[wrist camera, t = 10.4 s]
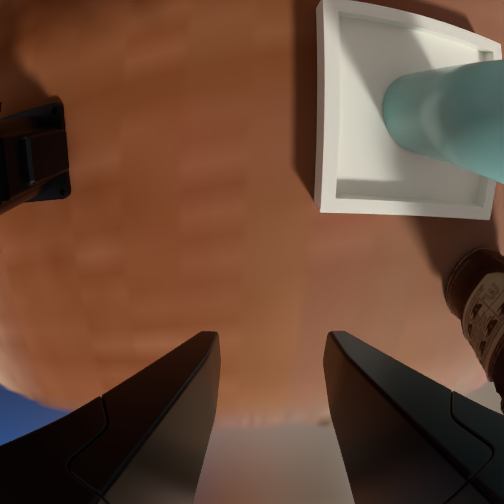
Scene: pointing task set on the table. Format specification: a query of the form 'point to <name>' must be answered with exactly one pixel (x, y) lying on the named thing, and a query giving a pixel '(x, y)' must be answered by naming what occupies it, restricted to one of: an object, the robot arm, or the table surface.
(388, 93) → the teal cylinder
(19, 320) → the table surface
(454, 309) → the coffee cup
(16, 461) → the robot arm
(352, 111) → the tray
